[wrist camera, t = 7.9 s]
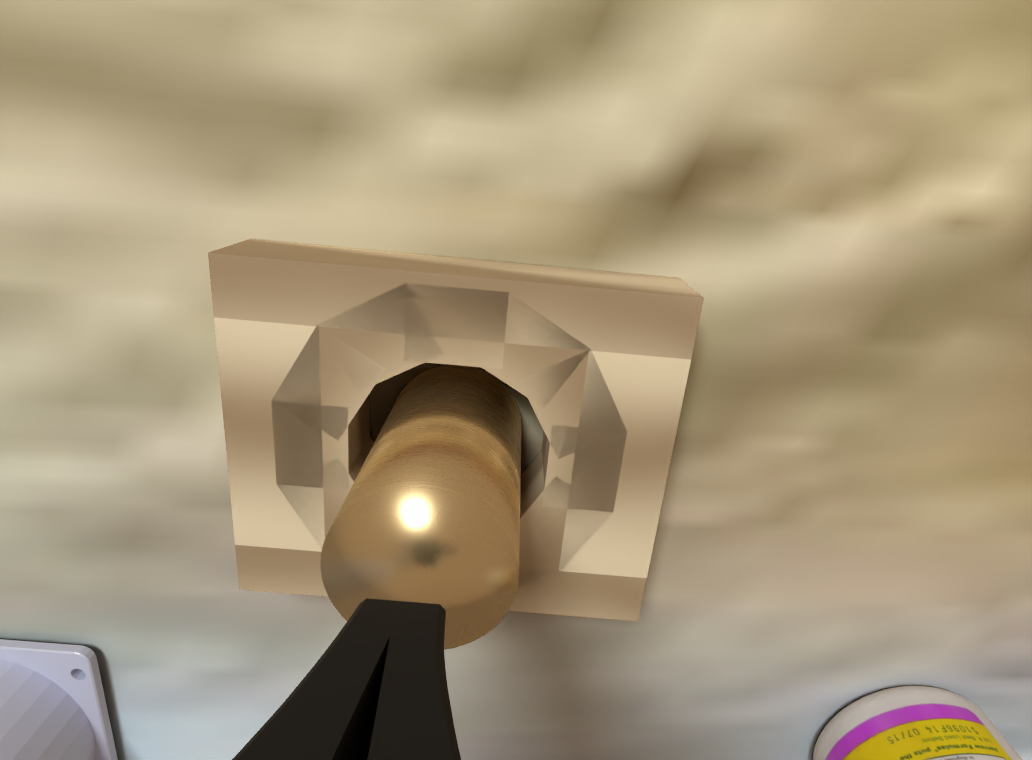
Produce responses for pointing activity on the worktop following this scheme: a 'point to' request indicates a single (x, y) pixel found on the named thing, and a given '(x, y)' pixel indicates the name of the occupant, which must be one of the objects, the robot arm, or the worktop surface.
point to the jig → (455, 341)
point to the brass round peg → (435, 506)
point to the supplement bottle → (912, 729)
